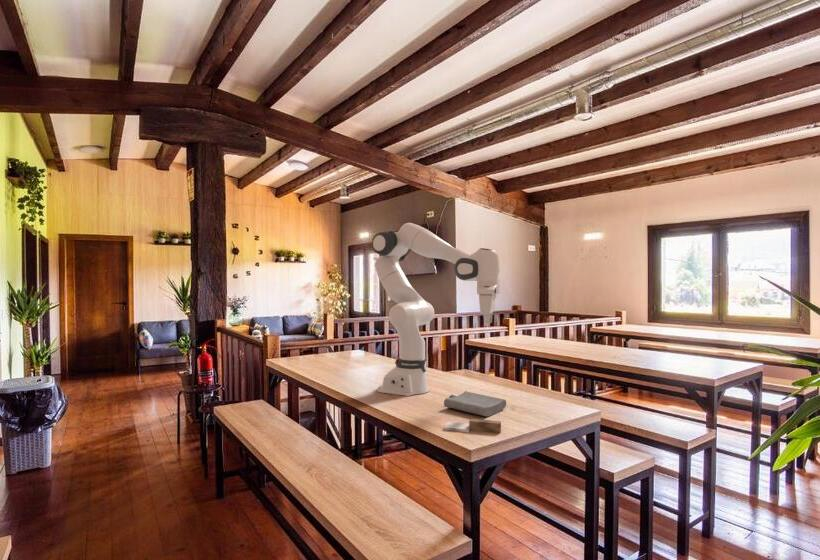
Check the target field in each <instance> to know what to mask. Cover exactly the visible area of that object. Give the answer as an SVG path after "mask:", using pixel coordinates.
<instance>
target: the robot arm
mask: <svg viewBox="0 0 820 560" xmlns="http://www.w3.org/2000/svg"><path fill="white" fill-rule="evenodd" d="M371 239H372V240H371V248H372V250H373V252H374V253H375V254H377V255H379V258H377V259H376V261H375V263H374V268H375V271H376V274H377V276H378V279H379V281H380V283H381V285H382V287H383V288H384V291H385V293H386V294H387V297H388V298H389V299H390V300H392V301H393V302H395V303H396V304H395V305H393V306H392V307H391V308H390V309H389V312H388V319H389V322H390V323H391V325H392V326H393V327H394V329H395V330H396V333H397V336H398V339H399V357H397V359H395V361H394V363H395V367H393V368H392V369H391V370H389V372H387V373H385V375H384V376H383V380H382V384H381V385H379V386H378V387H377V392H378V393H382V394H383V393H384V394H390V395H391V394H392V395H398V396H406V397H407V396H414V395H421V394H426V393H428V392H429V391H430V388H429V385H428V381H427V380H428V379H427V372H426V371H427V358H426V341H425V338H424V337H422V335H421V333H420V329H419V326H424V325H427V324H429V323H430V322H432V321H433V319H434V317H435V309H434V307H433V305H432V304H431V303H429V302H428V301H427V300H425V299H424V298H423V297H422V296H421V295H420V294H419V292H417V291H416V290H415V288H414V287H413V286H412V285H411V283H410V282H409V280H408V277H407V276H406V274H405V273H404V271H403V269H402V268H401V265H400V262H403V261H404V260H405V258H406V257H407V256H408V255H409V254H410V253H411V252H412V251H413V252H414V253H416V254H418V255H419V256H422V257H424V258H427V259H428V258H429V259H439V260H445V261H447V262H449V263H452V264H454V265H453V266H454V267H453V269H454V274H455V276H456V277H457V279H458V280H461V281H463V282H464V281H465V282H467V281H468V282H469V281H470V282H471V281H472V282H473V281H474V282H476V294H477V295H478V303H479V312H480V314H481V315H483V320H484V326H485V327H488V326H489V325H490V324H492V322H493V314H494V311H496V298H497V295H498V294H500V278H499V274H500V258H499V252H497V250H495V249H492V248H484V247H481V248H480V247H479V248H478V249H477V250H476V251H475V252H473V253H471V254H468V253H466V252H464V251H462V250H460V249H459V248H456V247H454V246H452V245H451V244H449V243H448V242H446V241H445V240H443V239H442V238H440V236H438V235H436V234H434V233H433V232H432V231H430V230H429V229H427V228H425V227H422V226H421V225H418V224H415V223H412V222H407V223H403V224H402V225H401V227H400V228H399V230H397V232H395V231H393V230H387V231H380V232H378V233H376V234H375V235H373V236H372V238H371Z"/></svg>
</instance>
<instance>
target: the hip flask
mask: <svg viewBox="0 0 820 560" xmlns="http://www.w3.org/2000/svg"><path fill="white" fill-rule="evenodd" d="M443 406H444V407H446V408H451V409H454V410H456V411H457V410H458V411H462V412H466V413H470V414H474V415H479V416H483V417H490V416H494V415H496V414H498V413H500V412H501V411H502V410H504V409H505V407H507V400H506V399H503V398H499V397H494V396H490V395H485V394H481V393H477V392H471V391H466V390H465V391H464V392H463V393H461V394H459V395H454V394H450V395H449V397H446V398H445V399H444V401H443Z"/></svg>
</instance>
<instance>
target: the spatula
mask: <svg viewBox="0 0 820 560" xmlns="http://www.w3.org/2000/svg"><path fill="white" fill-rule="evenodd" d="M443 430H444V431H446V430H451V431H450V432H458V431H460V432H461V433H469V432H471V431H472V432H478V433H479V432H481V433H493V434H501V432H502V421H501V420H492V419H490V420H489V419H479V418H476V419H475V418H470V419H469V421H468V422H455V421H447V422H446V424H445V425H444V427H443ZM460 432H459V433H460Z"/></svg>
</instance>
